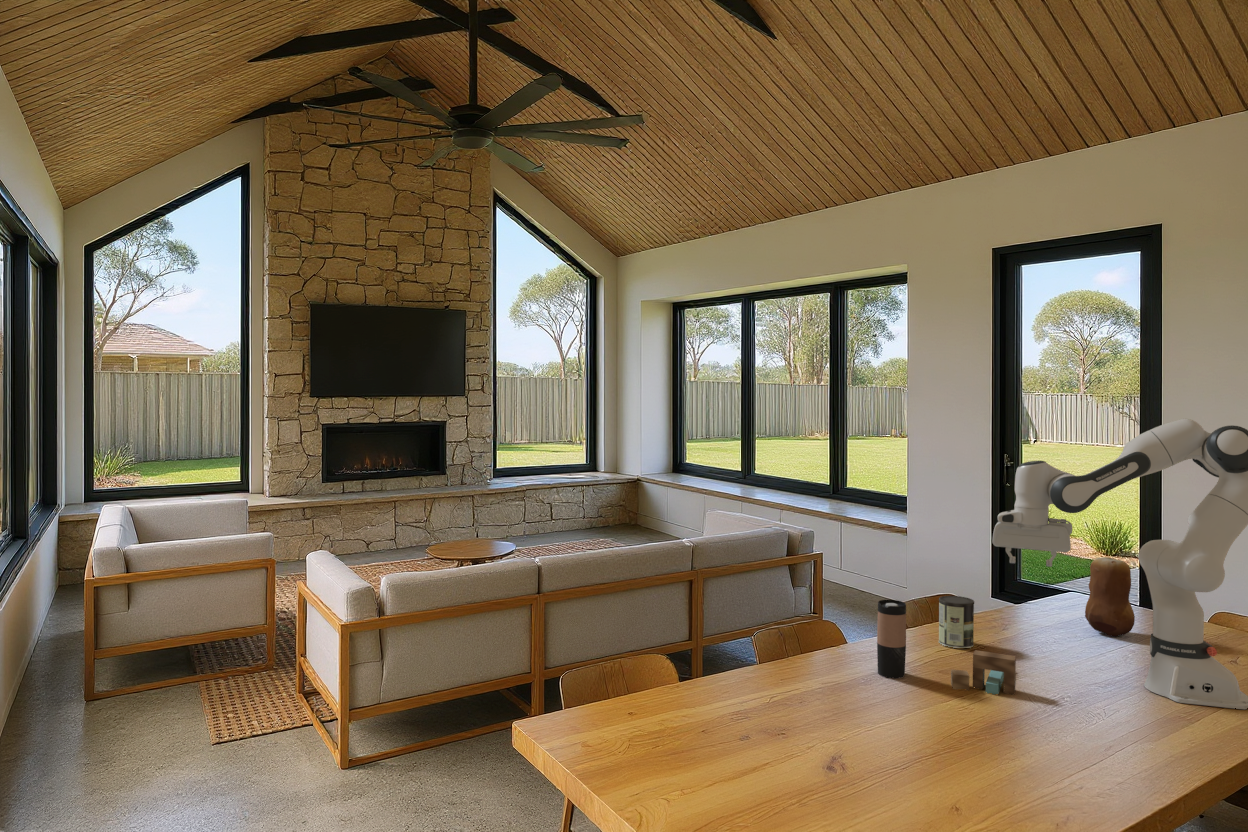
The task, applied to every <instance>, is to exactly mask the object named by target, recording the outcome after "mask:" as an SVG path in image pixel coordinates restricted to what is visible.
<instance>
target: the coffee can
mask: <svg viewBox="0 0 1248 832" xmlns="http://www.w3.org/2000/svg"><path fill="white" fill-rule="evenodd" d="M938 601H939V602H938V644H939V643H940V644H939V645H941V644H942V645H941V646H943V645H944V646H943V647H945V646H948V647H953V648H952V649H954V648H970V649H972V648H971V647H973V646H975V645H974V641H975V640H974V624H975V623H974V622H975V621H974V620H975V619H974V618H975V617H974V615H975V612H974V611H975V600H974V599H972V598H970V597H965V596H959V595H944V596H943V595H942V596H940V597H939V598H938ZM948 647H947V648H948ZM973 648H974V647H973Z"/></svg>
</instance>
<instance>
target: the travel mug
mask: <svg viewBox="0 0 1248 832" xmlns="http://www.w3.org/2000/svg"><path fill="white" fill-rule="evenodd" d="M876 625H877V632H876V640H877V641H876V649H877V650H876V651H877V652H876V653H877V655H876V656H877V674H878V675H879V676H881V677H884V678H887V679H901V678H902V679H903V678H904V677H905V672H906V654H907V653H906V652H907V604H906V602H903V601H901V600H897V599H896V600H895V599H881V600H878V602H877V624H876Z"/></svg>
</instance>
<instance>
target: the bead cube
mask: <svg viewBox="0 0 1248 832" xmlns="http://www.w3.org/2000/svg"><path fill="white" fill-rule="evenodd" d="M969 674H970V673H969V671H968V670H963V669H962V670H961V669H950V685H951V687H953V688H952V690H958V689H966V690H965V691H970V675H969Z"/></svg>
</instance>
